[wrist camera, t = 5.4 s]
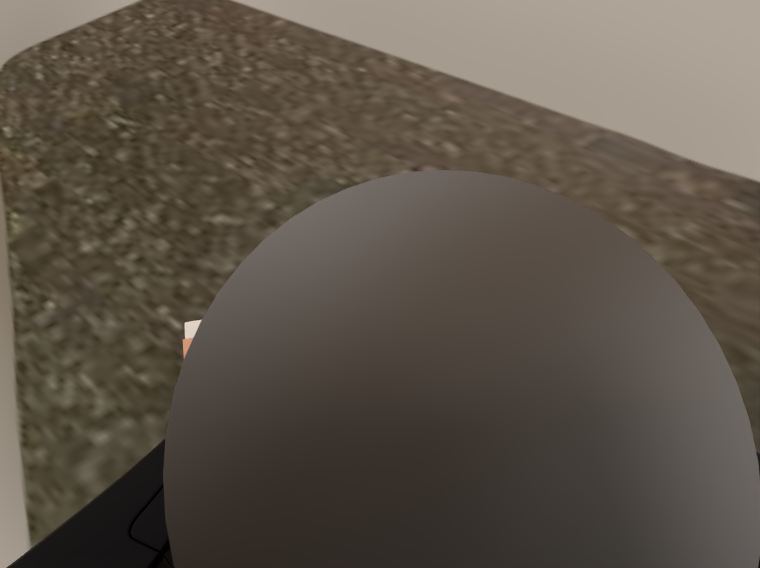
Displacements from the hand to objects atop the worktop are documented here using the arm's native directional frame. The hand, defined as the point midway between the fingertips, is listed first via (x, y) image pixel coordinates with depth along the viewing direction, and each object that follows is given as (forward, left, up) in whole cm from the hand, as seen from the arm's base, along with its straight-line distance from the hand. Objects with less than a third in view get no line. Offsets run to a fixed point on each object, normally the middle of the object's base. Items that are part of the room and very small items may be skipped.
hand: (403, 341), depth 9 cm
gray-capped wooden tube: (-1, +1, -6) cm, 7 cm away
